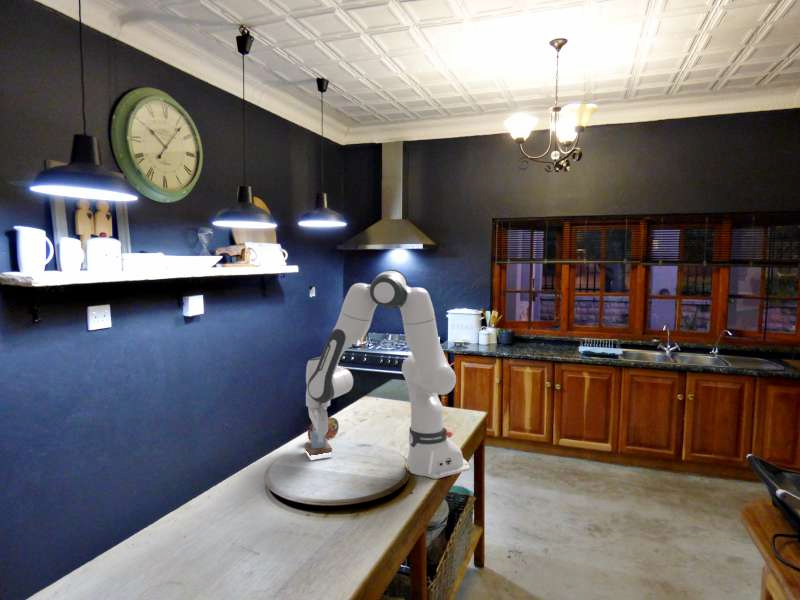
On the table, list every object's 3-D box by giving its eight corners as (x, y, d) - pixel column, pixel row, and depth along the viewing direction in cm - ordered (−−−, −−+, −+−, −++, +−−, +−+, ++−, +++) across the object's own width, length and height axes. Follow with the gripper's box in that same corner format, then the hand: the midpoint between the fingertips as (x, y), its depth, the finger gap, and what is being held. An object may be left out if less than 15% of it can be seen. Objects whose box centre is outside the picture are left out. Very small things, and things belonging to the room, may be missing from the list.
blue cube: (323, 442, 182) (323, 429, 182) (325, 447, 177) (326, 434, 177) (310, 443, 180) (310, 430, 180) (312, 448, 176) (312, 435, 175)
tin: (311, 446, 187) (311, 425, 187) (306, 444, 189) (306, 423, 189) (339, 435, 199) (339, 415, 199) (333, 434, 201) (333, 414, 201)
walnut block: (326, 450, 184) (326, 440, 184) (331, 458, 177) (331, 447, 177) (305, 453, 181) (305, 443, 181) (310, 461, 174) (310, 451, 174)
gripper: (332, 407, 169) (332, 446, 170) (321, 392, 188) (321, 427, 189) (314, 409, 167) (314, 448, 168) (305, 393, 186) (305, 428, 187)
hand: (318, 437), depth 179 cm, fingers open, 8 cm apart
